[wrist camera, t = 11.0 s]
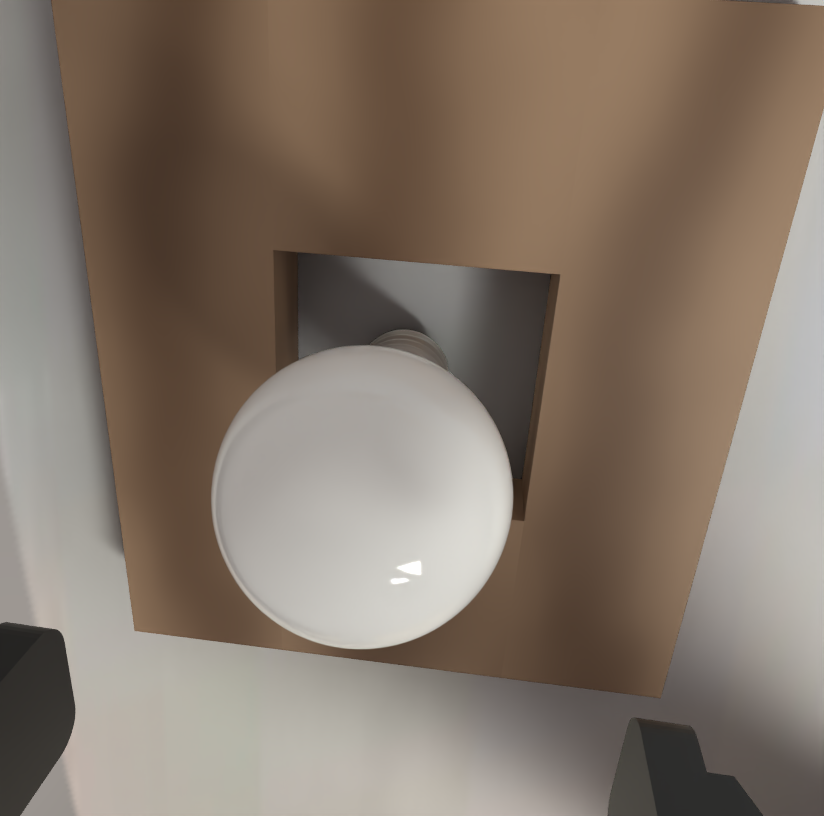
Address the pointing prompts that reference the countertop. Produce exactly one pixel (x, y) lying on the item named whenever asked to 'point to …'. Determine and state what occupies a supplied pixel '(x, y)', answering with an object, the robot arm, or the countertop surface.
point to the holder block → (449, 245)
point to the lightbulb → (363, 494)
